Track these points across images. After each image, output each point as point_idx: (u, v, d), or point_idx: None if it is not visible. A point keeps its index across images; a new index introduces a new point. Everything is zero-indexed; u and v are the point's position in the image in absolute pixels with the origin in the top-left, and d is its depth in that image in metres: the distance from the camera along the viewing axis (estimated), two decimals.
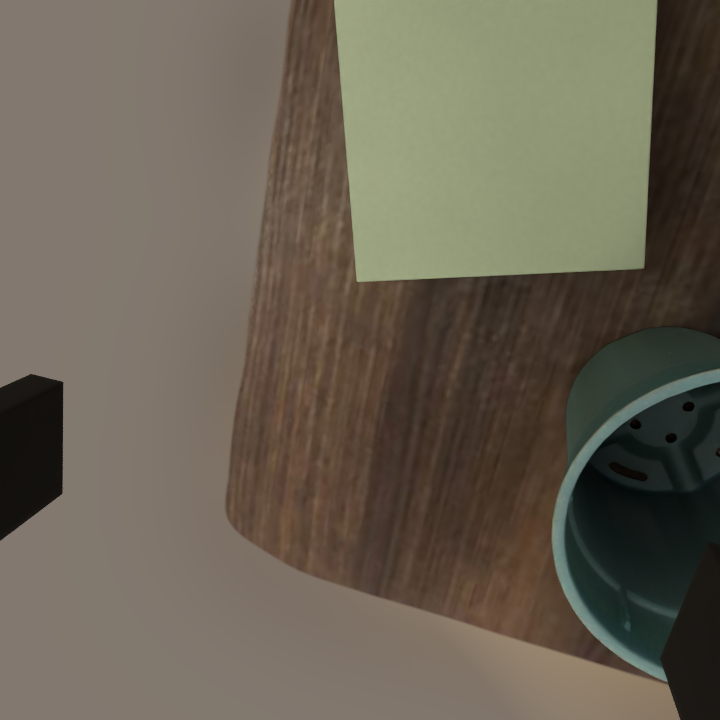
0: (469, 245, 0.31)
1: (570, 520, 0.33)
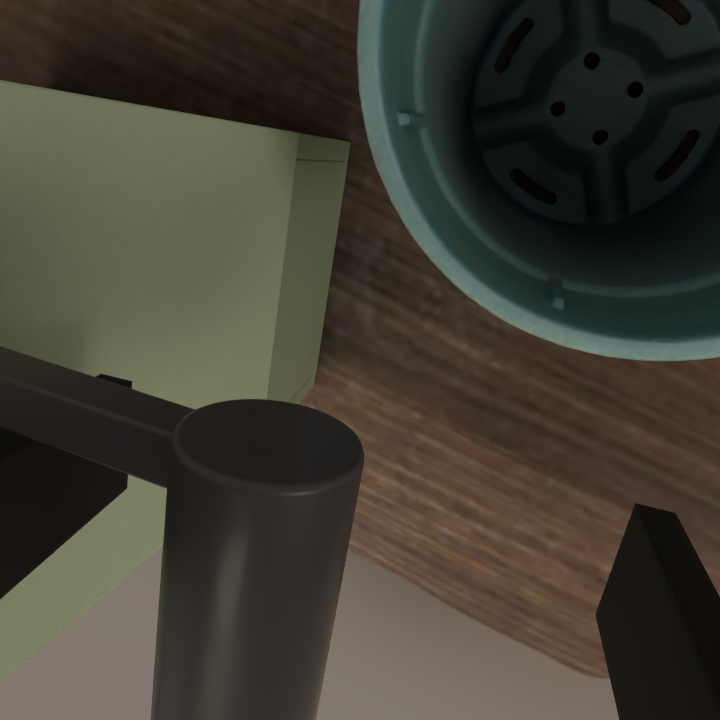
0: (256, 349, 0.24)
1: (629, 295, 0.21)
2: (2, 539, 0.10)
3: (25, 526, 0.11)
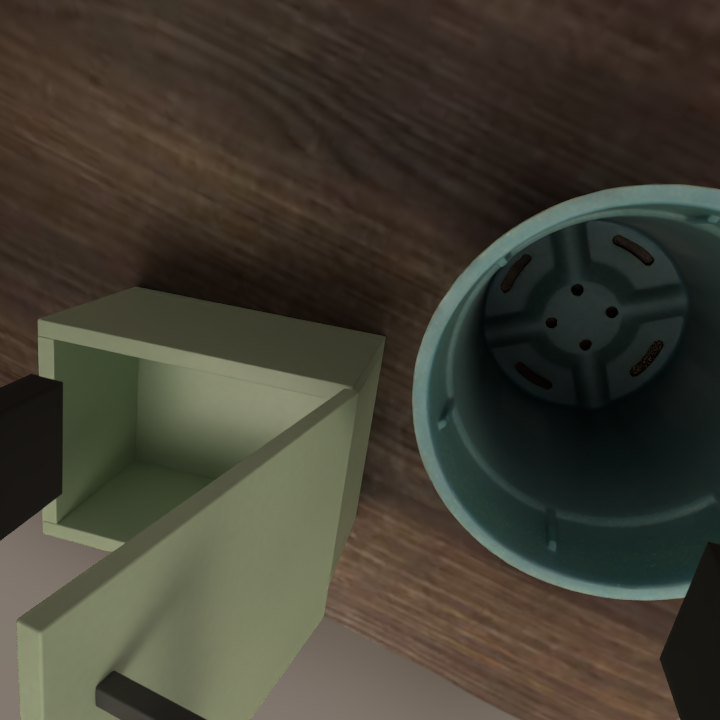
0: (325, 544, 0.32)
1: (604, 524, 0.29)
2: None
3: None
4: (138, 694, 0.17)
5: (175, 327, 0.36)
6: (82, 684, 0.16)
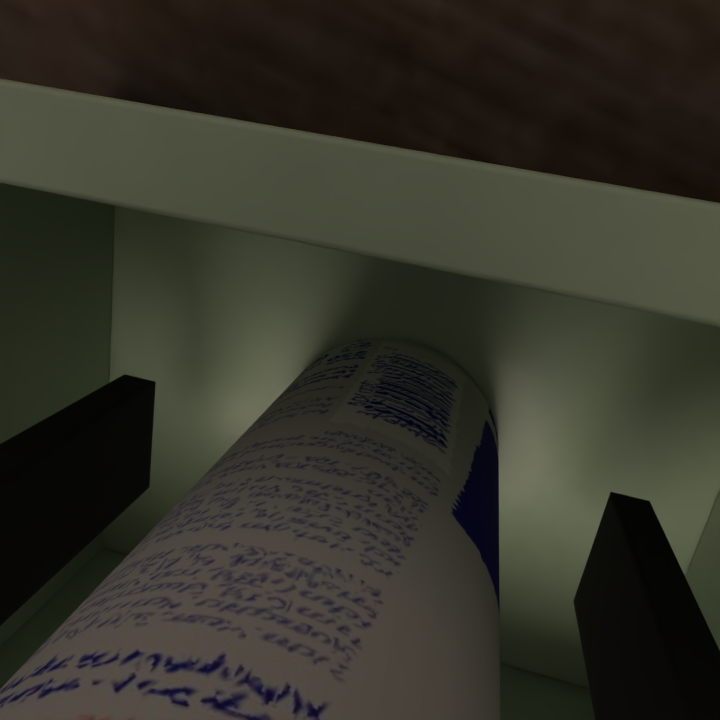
0: None
1: None
2: (35, 537, 0.11)
3: (55, 524, 0.11)
4: None
5: None
6: None
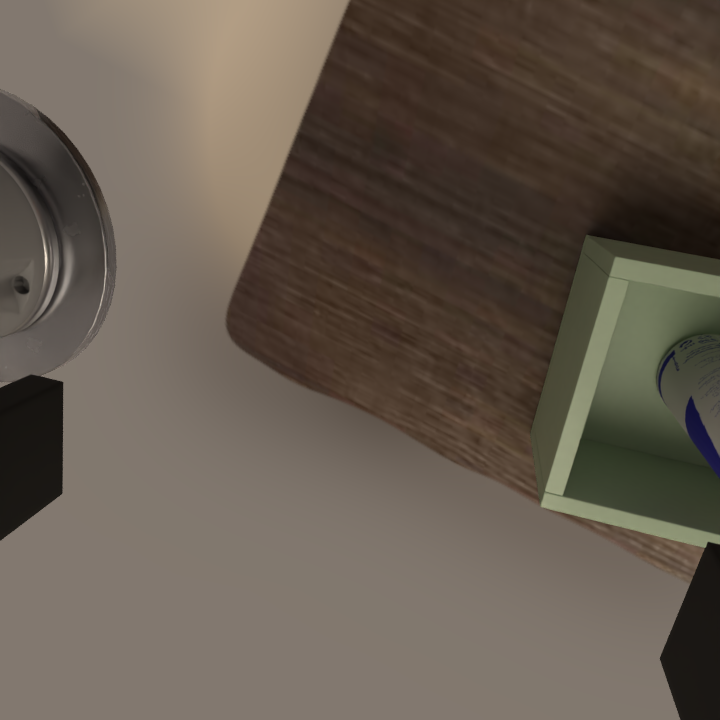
0: None
1: None
2: None
3: None
4: None
5: None
6: None
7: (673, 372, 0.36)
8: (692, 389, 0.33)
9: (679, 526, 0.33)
